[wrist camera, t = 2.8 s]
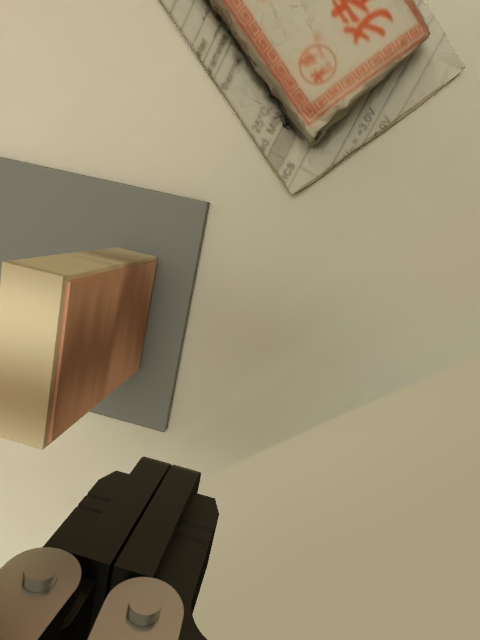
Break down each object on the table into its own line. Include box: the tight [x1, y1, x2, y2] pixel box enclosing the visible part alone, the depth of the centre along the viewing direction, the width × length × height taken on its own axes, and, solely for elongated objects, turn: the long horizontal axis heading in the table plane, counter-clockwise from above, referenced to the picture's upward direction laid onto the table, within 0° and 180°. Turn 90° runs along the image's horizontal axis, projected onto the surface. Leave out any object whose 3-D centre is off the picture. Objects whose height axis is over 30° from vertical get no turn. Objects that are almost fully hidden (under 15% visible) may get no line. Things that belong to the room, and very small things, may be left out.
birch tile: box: [0, 247, 157, 450], centre depth 22 cm, size 7×2×10 cm, turn 168°
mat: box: [0, 157, 209, 432], centre depth 28 cm, size 14×18×1 cm
